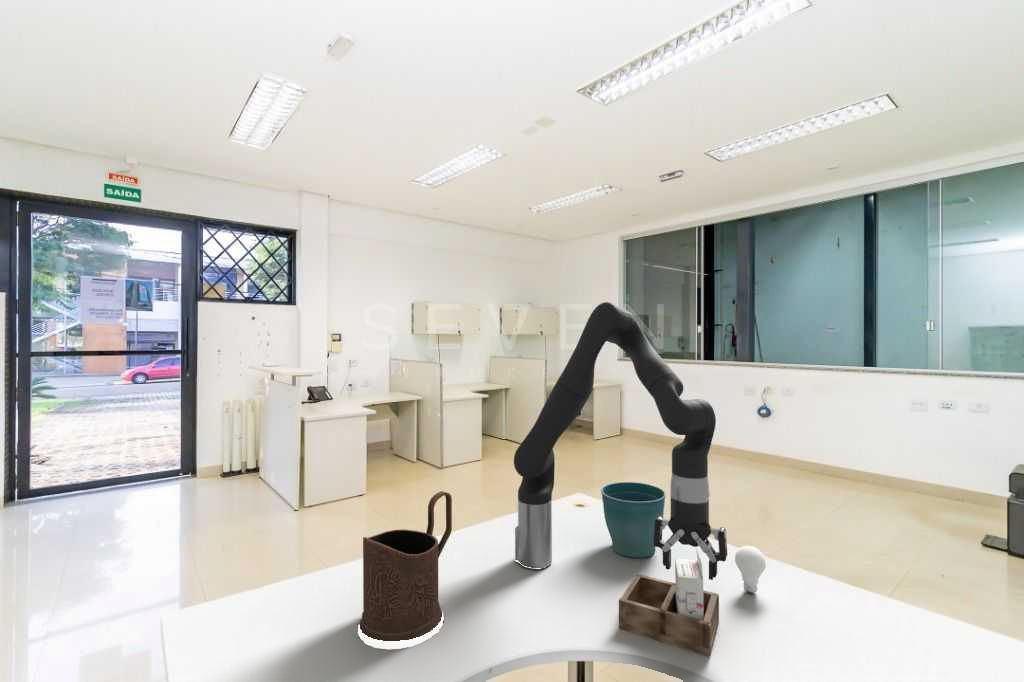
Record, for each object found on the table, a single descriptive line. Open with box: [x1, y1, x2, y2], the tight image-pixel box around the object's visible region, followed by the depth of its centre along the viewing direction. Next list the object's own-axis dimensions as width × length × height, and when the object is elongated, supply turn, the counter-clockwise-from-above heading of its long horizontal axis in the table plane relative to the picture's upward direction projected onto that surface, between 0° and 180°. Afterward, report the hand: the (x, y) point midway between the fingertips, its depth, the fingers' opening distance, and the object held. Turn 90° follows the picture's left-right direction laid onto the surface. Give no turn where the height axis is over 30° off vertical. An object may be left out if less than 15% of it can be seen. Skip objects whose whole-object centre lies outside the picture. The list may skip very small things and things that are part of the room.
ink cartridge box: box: [674, 546, 704, 621], centre depth 99 cm, size 9×5×15 cm, turn 166°
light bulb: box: [734, 545, 767, 594], centre depth 114 cm, size 7×7×11 cm
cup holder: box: [359, 491, 453, 641], centre depth 105 cm, size 18×24×25 cm
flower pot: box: [600, 481, 667, 559], centre depth 138 cm, size 18×18×17 cm
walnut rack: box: [618, 573, 720, 658], centre depth 101 cm, size 18×13×6 cm
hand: (689, 572), depth 99 cm, fingers open, 8 cm apart
